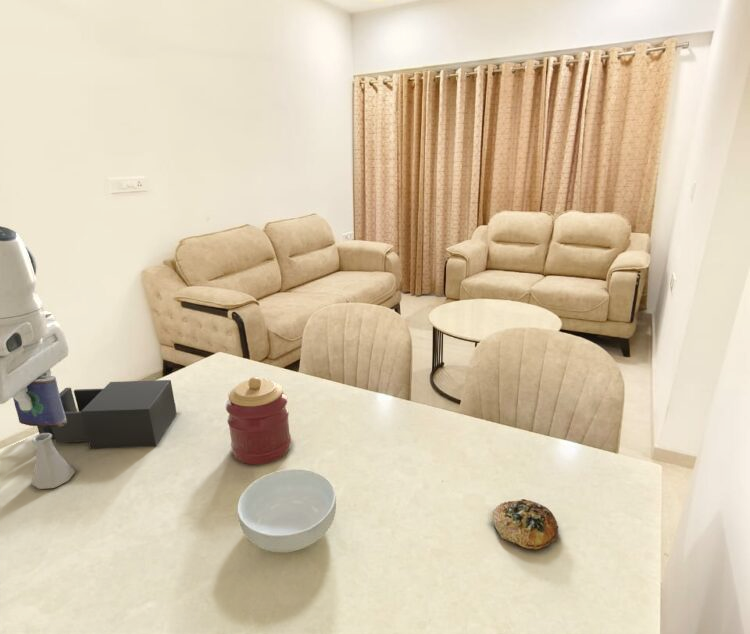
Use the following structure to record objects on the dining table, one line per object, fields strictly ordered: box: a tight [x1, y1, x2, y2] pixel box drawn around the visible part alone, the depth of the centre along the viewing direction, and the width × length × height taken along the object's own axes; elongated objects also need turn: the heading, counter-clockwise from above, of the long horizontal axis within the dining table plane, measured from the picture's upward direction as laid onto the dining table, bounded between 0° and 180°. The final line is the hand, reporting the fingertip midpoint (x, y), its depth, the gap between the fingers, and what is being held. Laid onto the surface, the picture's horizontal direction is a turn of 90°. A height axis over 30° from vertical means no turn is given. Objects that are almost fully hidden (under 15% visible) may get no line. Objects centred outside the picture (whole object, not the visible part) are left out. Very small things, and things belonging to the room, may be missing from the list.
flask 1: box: [12, 375, 67, 428], centre depth 86 cm, size 9×3×11 cm, turn 77°
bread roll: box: [492, 498, 559, 551], centre depth 87 cm, size 11×11×5 cm
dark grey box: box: [81, 379, 178, 450], centre depth 118 cm, size 15×15×10 cm
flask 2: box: [31, 433, 76, 490], centre depth 101 cm, size 7×7×10 cm
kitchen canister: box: [225, 376, 292, 466], centre depth 108 cm, size 13×13×18 cm
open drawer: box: [36, 387, 104, 443], centre depth 117 cm, size 18×13×8 cm
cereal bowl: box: [236, 468, 337, 554], centre depth 86 cm, size 17×17×7 cm
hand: (36, 401), depth 87 cm, fingers closed on flask 1, 3 cm apart
